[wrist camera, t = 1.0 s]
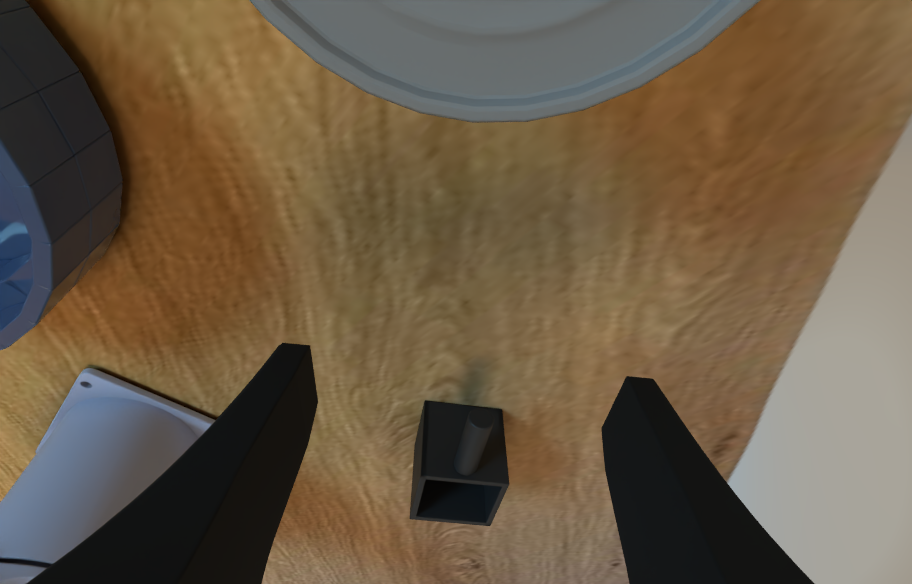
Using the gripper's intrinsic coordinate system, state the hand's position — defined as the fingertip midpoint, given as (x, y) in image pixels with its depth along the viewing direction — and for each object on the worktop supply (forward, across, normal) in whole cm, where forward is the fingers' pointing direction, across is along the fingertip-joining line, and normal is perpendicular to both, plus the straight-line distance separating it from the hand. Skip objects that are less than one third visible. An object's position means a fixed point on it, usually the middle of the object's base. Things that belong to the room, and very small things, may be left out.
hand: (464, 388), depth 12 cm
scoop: (+10, -1, +14) cm, 17 cm away
